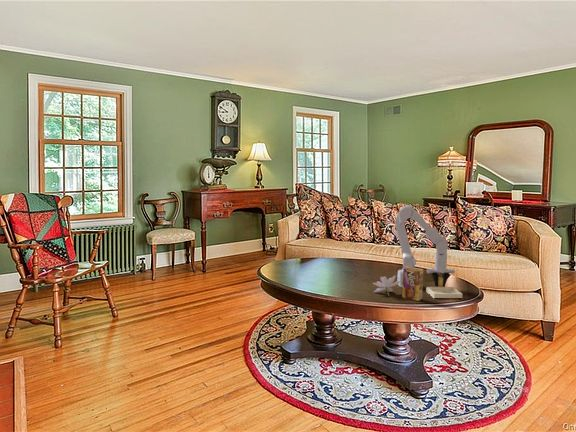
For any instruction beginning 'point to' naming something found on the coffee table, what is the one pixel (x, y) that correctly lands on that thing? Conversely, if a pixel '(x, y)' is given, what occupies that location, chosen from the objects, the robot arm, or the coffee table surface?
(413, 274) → the candy box
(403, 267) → the robot arm
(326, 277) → the coffee table surface
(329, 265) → the coffee table surface
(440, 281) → the peg
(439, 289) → the bore box
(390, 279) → the water lily
